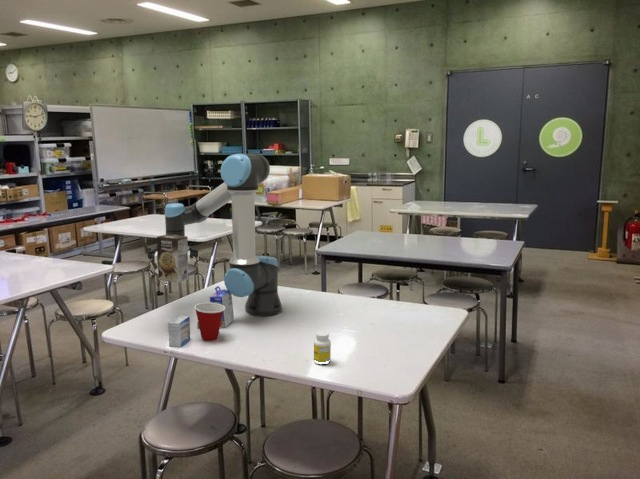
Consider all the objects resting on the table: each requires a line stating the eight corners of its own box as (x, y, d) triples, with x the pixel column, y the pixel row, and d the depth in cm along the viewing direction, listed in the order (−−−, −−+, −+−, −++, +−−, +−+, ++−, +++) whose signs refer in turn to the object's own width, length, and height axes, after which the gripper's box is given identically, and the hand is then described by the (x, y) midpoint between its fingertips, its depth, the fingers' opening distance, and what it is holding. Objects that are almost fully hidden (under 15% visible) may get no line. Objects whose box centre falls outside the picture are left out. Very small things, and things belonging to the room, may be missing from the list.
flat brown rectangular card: (210, 322, 205) (210, 321, 205) (210, 328, 198) (210, 327, 198) (197, 322, 204) (197, 321, 204) (197, 329, 197) (197, 328, 197)
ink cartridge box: (221, 318, 209) (218, 283, 206) (234, 319, 208) (231, 283, 205) (211, 327, 199) (208, 290, 197) (225, 327, 198) (222, 290, 196)
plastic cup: (225, 343, 184) (225, 310, 182) (193, 344, 182) (193, 311, 180) (225, 332, 194) (225, 301, 192) (195, 333, 193) (195, 301, 190)
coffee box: (157, 280, 191) (155, 236, 188) (169, 276, 197) (167, 233, 194) (178, 283, 187) (176, 238, 184) (189, 279, 193) (188, 235, 190)
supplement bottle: (313, 358, 172) (313, 330, 171) (329, 358, 173) (330, 330, 171) (314, 365, 167) (314, 336, 165) (331, 365, 168) (331, 336, 166)
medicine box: (180, 347, 179) (179, 323, 178) (168, 346, 180) (167, 322, 179) (190, 339, 187) (190, 316, 185) (179, 338, 188) (178, 314, 186)
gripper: (204, 255, 211) (205, 268, 190) (144, 256, 206) (138, 270, 185) (204, 236, 210) (205, 247, 188) (143, 237, 204) (137, 249, 183)
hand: (172, 258), depth 186 cm, fingers closed on coffee box, 10 cm apart
